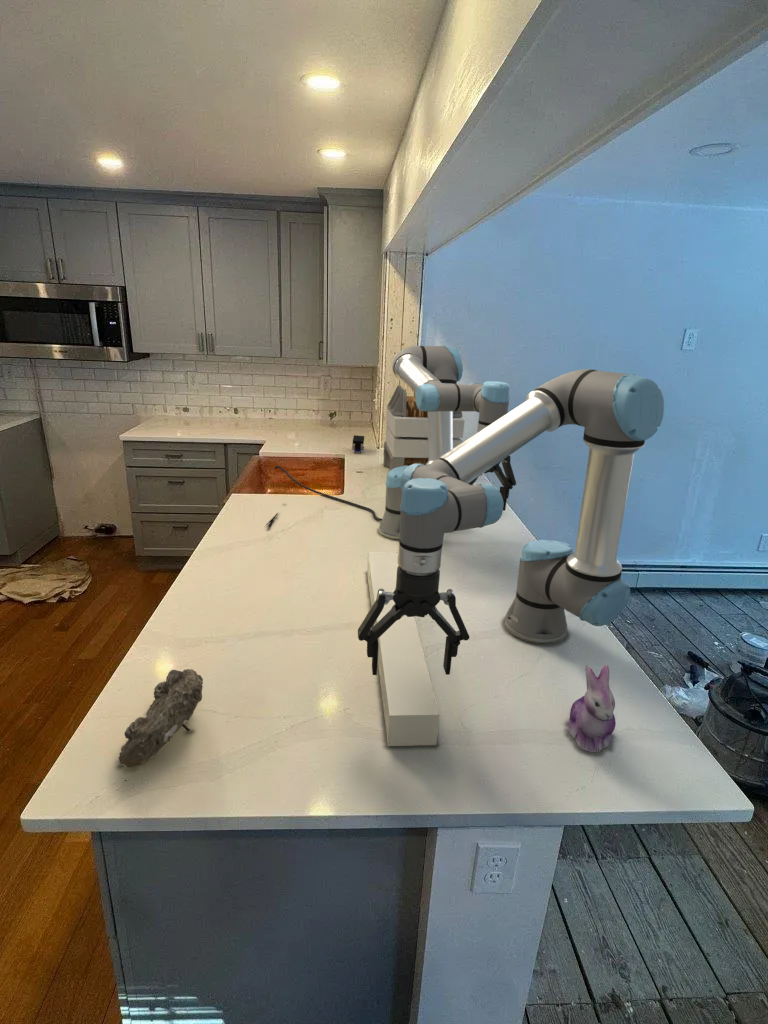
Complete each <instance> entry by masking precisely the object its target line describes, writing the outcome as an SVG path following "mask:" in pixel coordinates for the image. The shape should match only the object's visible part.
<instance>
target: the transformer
mask: <svg viewBox="0 0 768 1024" xmlns="http://www.w3.org/2000/svg"><path fill="white" fill-rule="evenodd" d="M407 394H408V393H407V390H406V389H404V388H403V387H402V385H399V384H398V385H397V386H396V388H395V390H394V392H393V394H392V395H391V398H390V400H389V402H388V404H387V405H386V413H385V414H386V415H385V423H386V428H385V438H384V442H383V466H384V467H388V468H389V471H390V470H392V469H394V468H397V467H401V466H410V465H412V464H416V463H419V464H426V463H427V462H428V411H420V410H419V409H418V408H417V404H416V395H414V396H413V395H412V396H411V395H407ZM452 417H453V448H455V447H456V446H458V445H459V444H461V443H463V442H464V441H463V440H462V439H463V438H464V431H465V430H464V429H465V419H464V418H463V411H452Z"/></svg>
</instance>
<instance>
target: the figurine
mask: <svg viewBox="0 0 768 1024" xmlns="http://www.w3.org/2000/svg"><path fill="white" fill-rule="evenodd" d="M585 676H586V677H585V680H586V691H585V693H584V695H583V696H581V697H580V698H578V699H576V700H575V701H573V703H572V705H571V707H570V712H569V719H568V731H569V735H570V736H571V737H572V739H573V740H574V741H575V742H576V744H577V747H578V748H579V749H581V750H583V751H587V752H592V753H600V752H601V750H602V749H606V748H608V747H609V745H610V743H611V740H612V735H613V733H614V731H615V729H616V725H617V724H616V717H615V714H614V712H615V708H616V700H615V699H616V698H615V696H614V694H613V692H612V689H611V687H610V667H609V665H608V664H604V665H603V666H602V667H601V669H600V672H599V674H598V676H597V675H596V674H595V672H594V670H593V668H591V667H590V666H589V665H588V666H586V667H585Z"/></svg>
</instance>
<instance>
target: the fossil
mask: <svg viewBox="0 0 768 1024" xmlns="http://www.w3.org/2000/svg"><path fill="white" fill-rule="evenodd" d="M203 684H204V680H203V677H202V676H201V674H198V673H197V671H196V670H194V669H192V668H190V669H189V668H186V669H183V670H177V669H171V670H170V671H169V672H168V674H167V676H166V679H165V680H163V681H162V682H159V683H157V684H156V685H155V687H154V688H153V698H154V700H153V701H152V703H151V704H149V705H150V706H149V708H148V709H147V711H146V713H145V715H146V716H145V717H142V716H140V717H137V718H136V719H134V721H132V722H131V723H130V724H129V725H128V726H127V727H126V729H125V731H124V737H125V739H128V740H126V742H125V744H124V745H122V746H121V748H120V752H119V753H118V754H119V756H118V761H119V764H120V765H124V766H125V767H126V768H133V767H138V766H142V767H143V766H144V765H146V764H147V763H148V762H149V761H150V760H151V759H153V757H155V756H157V754H158V753H159V752H160V751H161V750H162V749H163V748H164V747H166V745H167V744H168V743H170V742H171V740H172V739H173V738H174V735H175V734H176V733H178V732H179V730H180V729H181V728H183V729H184V730H185V731H186V732H188V733H189V732H191V729H190V728H189V727H188V726H187V725H186V724H185V722H186V721H189V720H190V718H191V717H193V715H194V711H195V710H196V708H197V706H198V704H199V703H200V702H201V701H202V699H203V687H204V685H203Z"/></svg>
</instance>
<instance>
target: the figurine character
mask: <svg viewBox="0 0 768 1024" xmlns="http://www.w3.org/2000/svg"><path fill="white" fill-rule="evenodd" d="M364 443H365V435H353V437H352V444H351V445H352V446H351V450H352V451H354V454H357V453H359V454H362V451H364V449H365V446H364Z"/></svg>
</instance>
